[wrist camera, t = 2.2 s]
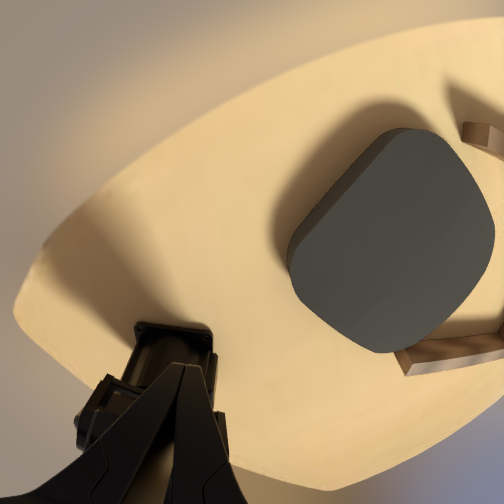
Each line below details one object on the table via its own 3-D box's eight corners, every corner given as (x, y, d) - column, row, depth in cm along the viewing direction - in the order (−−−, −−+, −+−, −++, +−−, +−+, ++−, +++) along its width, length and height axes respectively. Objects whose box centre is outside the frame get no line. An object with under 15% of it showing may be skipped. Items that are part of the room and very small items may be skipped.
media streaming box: (401, 104, 15) (424, 102, 13) (489, 235, 19) (509, 249, 16) (262, 261, 20) (264, 283, 17) (382, 348, 24) (393, 370, 21)
